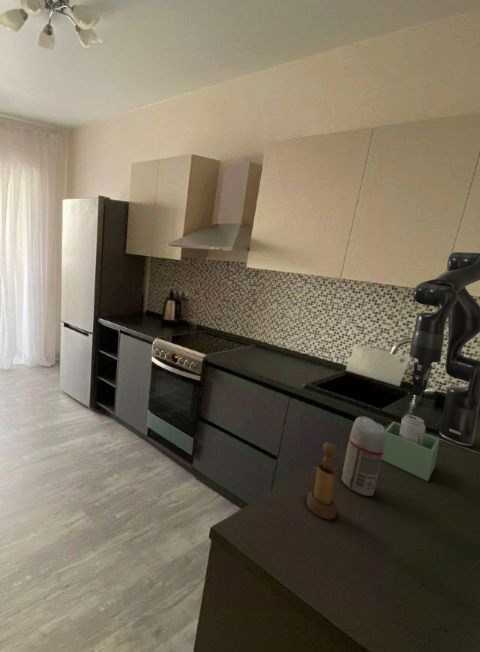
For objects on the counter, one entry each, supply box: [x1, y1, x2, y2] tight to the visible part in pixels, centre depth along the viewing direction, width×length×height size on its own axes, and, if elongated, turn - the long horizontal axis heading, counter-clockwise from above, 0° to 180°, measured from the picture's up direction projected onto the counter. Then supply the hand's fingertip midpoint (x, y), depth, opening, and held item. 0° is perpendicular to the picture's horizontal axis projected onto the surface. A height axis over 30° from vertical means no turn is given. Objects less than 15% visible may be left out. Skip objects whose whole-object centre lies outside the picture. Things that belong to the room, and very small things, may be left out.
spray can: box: [340, 416, 386, 497], centre depth 96 cm, size 8×8×20 cm
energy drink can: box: [399, 413, 427, 446], centre depth 111 cm, size 6×6×15 cm
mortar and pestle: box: [306, 441, 338, 520], centre depth 86 cm, size 7×6×18 cm
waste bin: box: [381, 421, 440, 482], centre depth 111 cm, size 12×12×10 cm
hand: (418, 392), depth 110 cm, fingers open, 8 cm apart
